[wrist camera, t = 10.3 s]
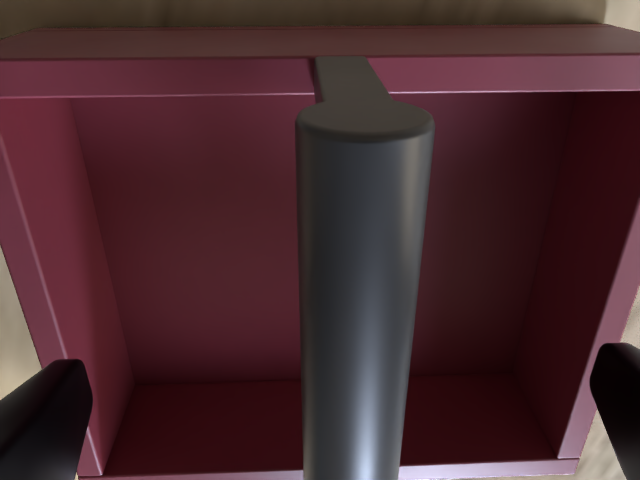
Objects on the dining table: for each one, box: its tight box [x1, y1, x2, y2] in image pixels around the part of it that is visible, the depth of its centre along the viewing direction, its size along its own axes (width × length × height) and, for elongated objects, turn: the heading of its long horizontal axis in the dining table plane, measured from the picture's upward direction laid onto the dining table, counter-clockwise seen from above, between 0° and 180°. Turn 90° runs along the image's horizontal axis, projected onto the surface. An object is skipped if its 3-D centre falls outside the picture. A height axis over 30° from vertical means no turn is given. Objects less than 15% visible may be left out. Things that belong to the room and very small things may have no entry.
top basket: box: [0, 24, 640, 480], centre depth 10 cm, size 12×10×7 cm
